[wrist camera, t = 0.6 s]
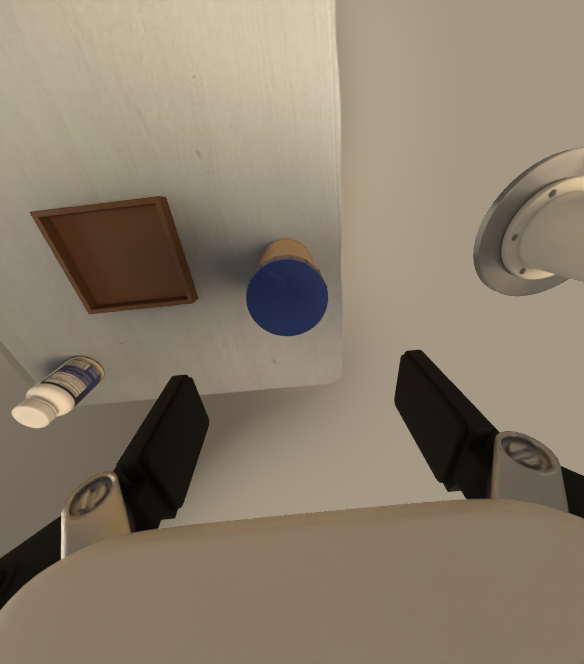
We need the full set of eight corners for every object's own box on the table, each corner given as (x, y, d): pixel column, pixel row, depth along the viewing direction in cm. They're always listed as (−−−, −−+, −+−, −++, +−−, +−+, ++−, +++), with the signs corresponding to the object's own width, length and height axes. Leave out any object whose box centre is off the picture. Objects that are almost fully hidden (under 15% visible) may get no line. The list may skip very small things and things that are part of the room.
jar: (310, 235, 29) (324, 255, 18) (313, 287, 32) (326, 328, 21) (257, 241, 29) (241, 264, 18) (265, 292, 32) (256, 335, 22)
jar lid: (323, 250, 19) (327, 254, 18) (326, 323, 23) (329, 332, 21) (241, 259, 19) (237, 264, 18) (256, 331, 23) (254, 340, 21)
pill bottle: (87, 385, 39) (33, 436, 31) (60, 362, 37) (-7, 410, 28) (112, 375, 38) (63, 425, 30) (87, 350, 36) (25, 397, 28)
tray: (165, 196, 26) (157, 196, 25) (198, 298, 32) (193, 303, 31) (45, 211, 27) (29, 212, 25) (98, 308, 33) (88, 314, 31)
